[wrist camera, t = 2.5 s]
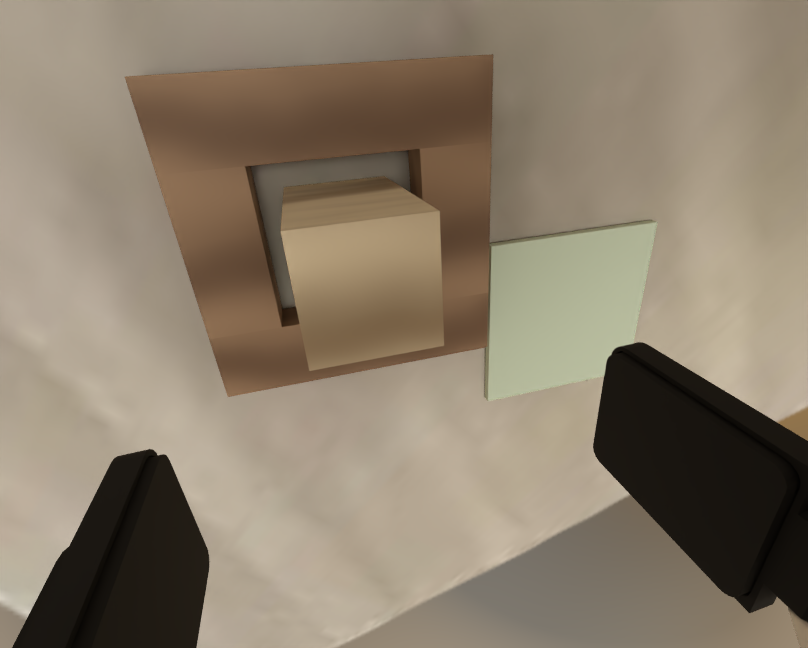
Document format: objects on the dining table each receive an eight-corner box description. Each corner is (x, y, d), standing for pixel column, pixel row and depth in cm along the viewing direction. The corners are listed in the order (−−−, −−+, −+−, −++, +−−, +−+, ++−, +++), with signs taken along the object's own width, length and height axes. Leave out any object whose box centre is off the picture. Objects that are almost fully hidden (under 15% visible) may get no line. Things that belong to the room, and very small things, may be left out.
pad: (487, 243, 27) (491, 246, 26) (651, 220, 29) (657, 222, 29) (484, 396, 32) (487, 401, 32) (622, 367, 35) (627, 371, 34)
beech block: (283, 187, 23) (280, 231, 14) (384, 176, 24) (439, 210, 15) (302, 282, 25) (309, 371, 16) (392, 269, 26) (444, 345, 17)
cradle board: (143, 81, 19) (124, 76, 17) (472, 60, 22) (493, 54, 20) (233, 373, 27) (228, 396, 24) (472, 329, 29) (487, 346, 27)
